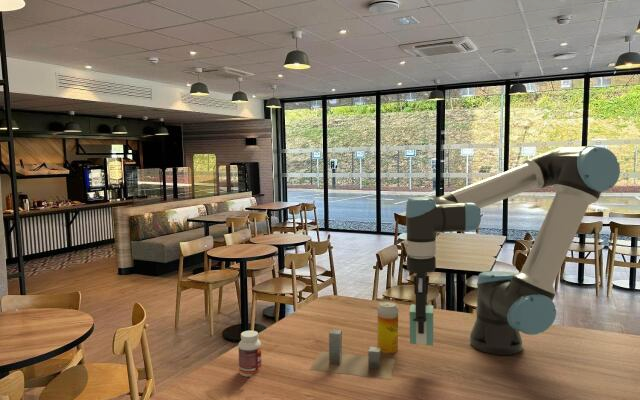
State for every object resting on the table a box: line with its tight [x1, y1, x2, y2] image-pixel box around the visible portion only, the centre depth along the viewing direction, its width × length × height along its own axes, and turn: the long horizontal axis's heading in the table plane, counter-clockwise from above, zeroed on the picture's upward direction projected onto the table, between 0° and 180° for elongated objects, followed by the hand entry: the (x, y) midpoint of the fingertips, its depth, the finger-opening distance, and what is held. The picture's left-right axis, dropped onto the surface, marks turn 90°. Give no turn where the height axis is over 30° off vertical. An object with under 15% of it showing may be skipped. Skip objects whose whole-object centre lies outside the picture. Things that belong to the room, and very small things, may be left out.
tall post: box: [328, 328, 343, 365], centre depth 132 cm, size 3×3×9 cm
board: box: [309, 350, 396, 380], centre depth 131 cm, size 22×12×1 cm, turn 75°
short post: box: [367, 346, 382, 370], centre depth 129 cm, size 3×3×5 cm
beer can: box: [376, 300, 399, 354], centre depth 140 cm, size 6×6×15 cm
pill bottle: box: [237, 330, 262, 378], centre depth 129 cm, size 6×6×11 cm
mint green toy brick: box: [409, 304, 434, 346], centre depth 127 cm, size 6×6×9 cm
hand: (421, 338), depth 127 cm, fingers closed on mint green toy brick, 6 cm apart
